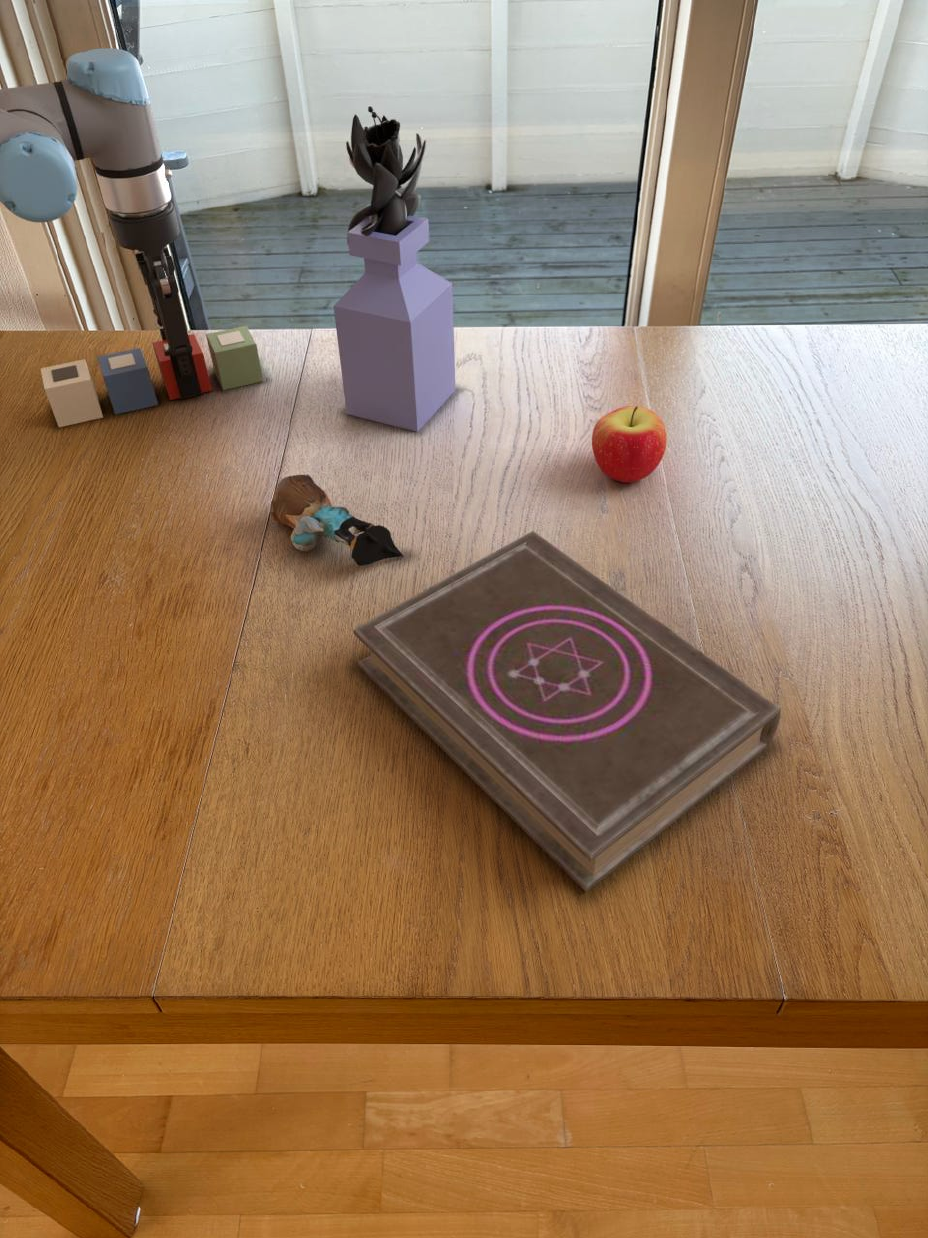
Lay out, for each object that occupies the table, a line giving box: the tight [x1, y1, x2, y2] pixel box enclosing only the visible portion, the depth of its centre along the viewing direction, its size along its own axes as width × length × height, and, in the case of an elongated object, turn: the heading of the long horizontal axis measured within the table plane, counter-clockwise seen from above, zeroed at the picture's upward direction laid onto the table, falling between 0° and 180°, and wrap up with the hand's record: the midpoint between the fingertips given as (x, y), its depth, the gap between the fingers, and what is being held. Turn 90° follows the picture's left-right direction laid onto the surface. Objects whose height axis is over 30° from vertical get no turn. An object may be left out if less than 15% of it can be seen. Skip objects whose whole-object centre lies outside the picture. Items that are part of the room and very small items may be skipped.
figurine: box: [269, 474, 405, 567], centre depth 100 cm, size 8×16×6 cm, turn 48°
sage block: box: [205, 325, 264, 391], centre depth 126 cm, size 6×6×6 cm
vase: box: [333, 106, 457, 433], centre depth 111 cm, size 14×12×35 cm
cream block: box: [40, 359, 104, 428], centre depth 120 cm, size 6×6×6 cm
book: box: [352, 530, 782, 893], centre depth 84 cm, size 30×22×5 cm
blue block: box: [96, 347, 159, 415], centre depth 122 cm, size 6×6×6 cm
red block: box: [151, 333, 213, 401], centre depth 124 cm, size 6×6×6 cm
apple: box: [591, 405, 668, 483], centre depth 107 cm, size 8×8×10 cm
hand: (186, 383), depth 126 cm, fingers closed on red block, 5 cm apart
